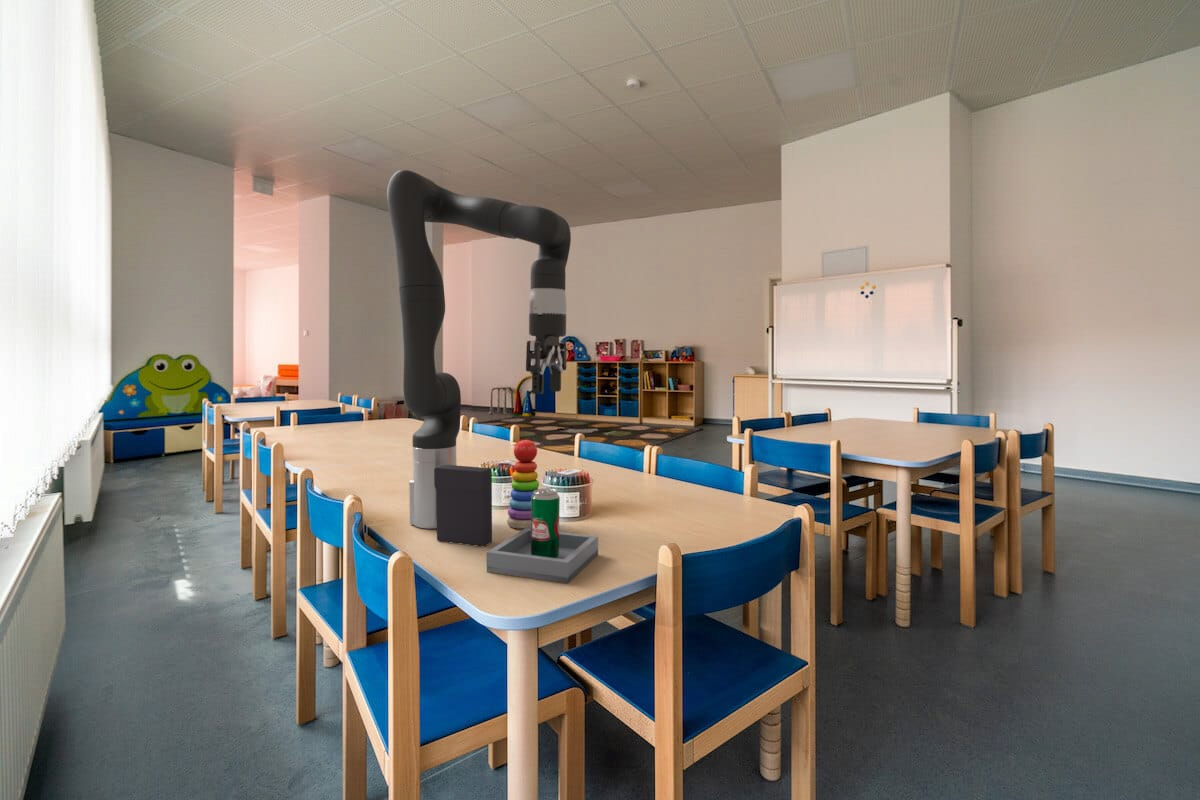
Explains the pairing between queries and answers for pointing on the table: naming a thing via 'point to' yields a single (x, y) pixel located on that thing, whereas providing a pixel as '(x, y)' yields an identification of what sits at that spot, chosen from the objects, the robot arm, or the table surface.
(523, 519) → the stacking toy
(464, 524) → the black upright block
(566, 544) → the tray
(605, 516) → the table surface
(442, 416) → the robot arm
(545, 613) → the table surface
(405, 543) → the table surface
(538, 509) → the soda can
